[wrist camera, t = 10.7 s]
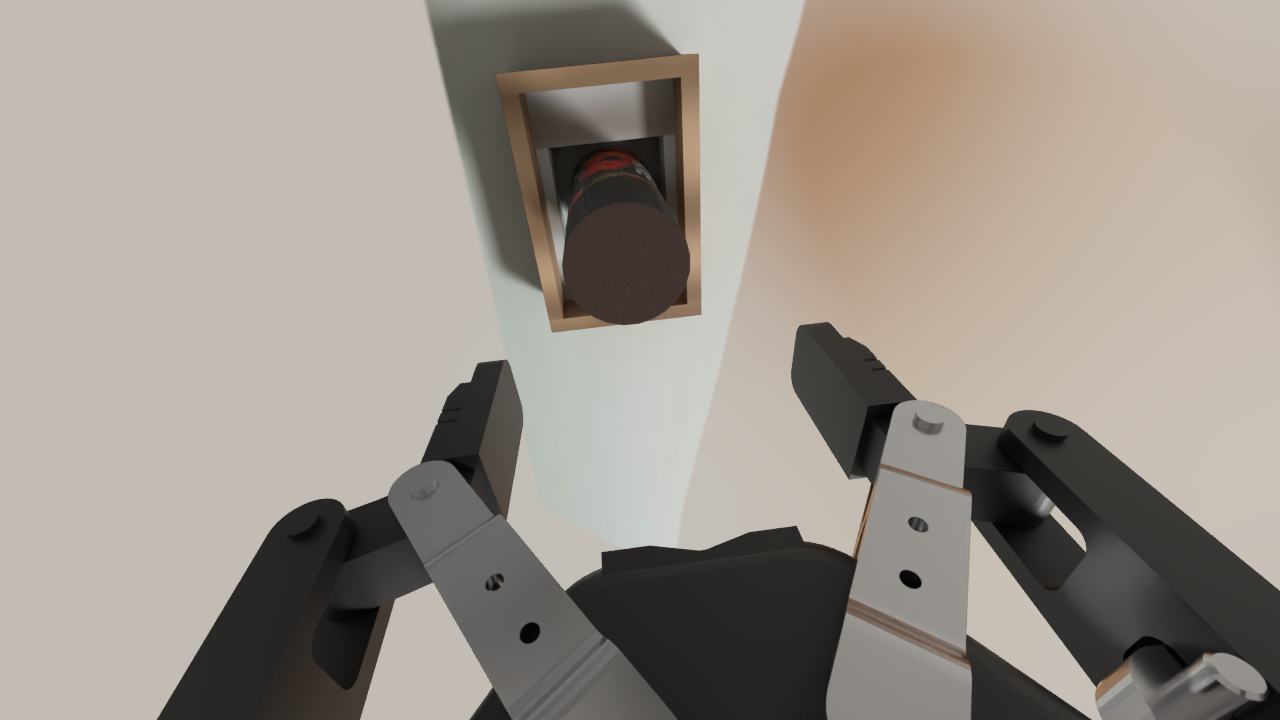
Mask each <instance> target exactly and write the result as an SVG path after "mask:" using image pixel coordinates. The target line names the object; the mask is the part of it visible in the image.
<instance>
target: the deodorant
mask: <svg viewBox="0 0 1280 720" xmlns="http://www.w3.org/2000/svg"><path fill="white" fill-rule="evenodd" d="M562 269H563V276H564V282H565V284H566V287H567V289H568V291H569V293H570V296H571V297H572V298H573V299H574V301H575V302H576V303H577V304H578V305H579V307H580V308H581V309H583V310H584V311H585V312H587V313H588V314H590V315H591V316H592V317H594V318H597V319H599V320H602V321H604V322H607V323H612V324H619V325H629V324H639V323H642V322H645V321H648V320H651V319H654V318H655V317H657V316H659V315H660V314H662V313H663V312H665V311H667V310H668V309H669V308H670V307H671V306H672V305H673V304H674V303H675V302H676V301H677V300H678V298H679V296H680V295H681V293H682V291H683V290H684V288H685V286H686V283H687V280H688V276H689V273H690V252H689V248H688V245H687V241H686V238H685V237H684V235H683V233H682V231H681V229H680V228H679V226H678V224H677V222H676V221H675V219H674V217H673V215H672V213H671V212H670V210H669V208H668V206H667V204H666V203H665V201H664V199H663V197H662V195H661V194H660V192H659V190H658V188H657V187H656V185H655V183H654V181H653V179H652V178H651V176H650V174H649V172H648V171H647V169H646V167H645V166H644V164H643V162H642V161H641V160H640V159H639V158H638V157H637V156H636V155H635V154H633V153H631V152H629V151H627V150H625V149H622V148H617V147H603V148H600V149H598V150H595V151H592V152H591V153H590V154H588V155H587V156H586V157H584V158H583V159H582V161H581V162H580V163H579V165H578V166H577V167H576V170H575V172H574V175H573V177H572V184H571V193H570V201H569V210H568V218H567V227H566V235H565V244H564V252H563V261H562Z"/></svg>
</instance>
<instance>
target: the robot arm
mask: <svg viewBox="0 0 1280 720" xmlns="http://www.w3.org/2000/svg"><path fill="white" fill-rule="evenodd" d="M791 378H792V384H793V388H794V390H795V392H796V394H797V396H798V398H799V399H800V401H801V402H802V404H803V406H804V407H805V409H806V411H807V412H808V414H809V415H810V417H811V419H812V420H813V422H814V424H815V425H816V427H817V428H818V430H819V432H820V433H821V435H822V437H823V438H824V440H825V441H826V443H827V445H828V446H829V448H830V449H831V451H832V453H833V454H834V456H835V458H836V459H837V461H838V463H839V464H840V466H841V467H842V469H843V471H844V472H845V474H846V475H847V477H848V479H849V480H850V479H858V478H865V477H867V478H868V479H869V481H870V482H871V486H870V489H869V493H868V497H867V500H866V504H865V508H864V512H863V516H862V520H861V524H860V528H859V532H858V535H857V539H856V543H855V547H854V551H853V555H852V557H851V556H849V555H847V554H845V553H843V552H841V551H838V550H836V549H834V548H830V547H827V546H824V545H821V544H816V543H811V542H805V541H803V539H802V537H801V535H800V533H799V530H798V528H797V526H792V527H785V528H777V529H770V530H763V531H756V532H749V533H746V534H744V535H741V536H739V537H736V538H734V539H731V540H729V541H726V542H724V543H721V544H719V545H716V546H714V547H712V548H709V549H706V550H702V551H697V550H686V549H677V548H667V547H658V546H644V547H637V548H629V549H622V550H615V551H608V552H602V568H601V569H599V570H596V571H594V572H592V573H590V574H588V575H586V576H584V577H583V578H581V579H580V580H578V581H577V582H576V583H574V584H573V585H572V586H571V587H570V588H568V589H567V590H566V591H564V590H563V588H562V587H561V586H560V585H559V584H558V583H557V581H556V580H555V579H554V578H553V576H552V575H551V574H550V573H549V572H548V570H547V569H546V568H545V567H544V566H543V564H542V563H541V562H540V561H539V559H538V558H537V557H536V556H535V555H534V553H533V552H532V551H531V550H530V549H529V547H528V546H527V545H526V544H525V543H524V541H523V540H522V539H521V538H520V536H519V535H518V534H517V533H516V532H515V530H514V529H513V528H512V527H511V526H510V524H509V523H508V522H507V521H506V519H507V515H508V509H509V503H510V497H511V491H512V485H513V480H514V474H515V468H516V462H517V456H518V450H519V445H520V439H521V433H522V427H523V411H522V405H521V402H520V398H519V395H518V391H517V388H516V384H515V381H514V378H513V374H512V371H511V367H510V365H509V362H508V361H507V360H499V361H490V362H482V363H478V364H477V366H476V369H475V372H474V374H473V377H472V380H471V382H469V383H461V384H459V385H458V387H457V388H455V390H454V391H453V392H452V393H451V394H450V395H449V396H448V397H447V400H446V402H445V404H444V407H443V409H442V413H441V415H440V417H439V419H438V425H436V427H435V429H434V432H433V434H432V436H431V439H430V442H429V444H428V446H427V449H426V451H425V454H424V456H423V459H422V461H421V463H420V464H419V465H417V466H415V467H413V468H411V469H409V470H408V471H406V472H405V473H403V474H402V475H401V476H400V477H399V478H398V479H397V480H396V481H395V482H394V484H393V485H392V487H391V488H390V491H389V494H388V496H386V497H384V498H381V499H379V500H376V501H374V502H371V503H368V504H365V505H363V506H360V507H357V508H355V509H352V510H349V511H347V510H346V509H345V508H344V506H343V505H342V504H341V502H339V501H337V500H334V499H319V500H315V501H312V502H309V503H306V504H304V505H302V506H300V507H298V508H296V509H294V510H293V511H291V512H290V513H288V514H287V515H285V517H283V518H282V519H281V520H280V521H278V522H277V523H276V525H275V526H274V527H273V528H272V529H271V530H270V532H269V533H268V535H267V537H266V538H265V540H264V542H263V543H262V545H261V547H260V548H259V550H258V552H257V554H256V555H255V557H254V558H253V560H252V562H251V563H250V565H249V567H248V568H247V570H246V572H245V573H244V575H243V577H242V579H241V580H240V582H239V583H238V585H237V587H236V588H235V590H234V592H233V593H232V595H231V597H230V598H229V600H228V602H227V604H226V605H225V607H224V609H223V610H222V612H221V614H220V615H219V617H218V618H217V620H216V622H215V623H214V625H213V627H212V629H211V630H210V632H209V634H208V635H207V637H206V639H205V640H204V642H203V644H202V645H201V647H200V649H199V650H198V652H197V654H196V655H195V657H194V659H193V660H192V662H191V664H190V665H189V667H188V669H187V670H186V672H185V674H184V675H183V677H182V679H181V680H180V682H179V684H178V685H177V687H176V689H175V690H174V692H173V694H172V695H171V697H170V699H169V700H168V702H167V704H166V705H165V707H164V709H163V710H162V712H161V714H160V716H159V717H158V719H157V720H360V717H361V714H362V711H363V707H364V704H365V701H366V697H367V694H368V690H369V687H370V683H371V680H372V677H373V673H374V670H375V666H376V663H377V659H378V656H379V653H380V649H381V646H382V642H383V639H384V635H385V632H386V629H387V625H388V621H389V618H390V615H391V611H392V608H393V604H394V601H395V599H396V598H399V597H401V596H403V595H405V594H408V593H410V592H412V591H415V590H417V589H419V588H421V587H423V586H426V585H428V584H430V583H434V584H435V586H436V588H437V589H438V591H439V593H440V595H441V597H442V598H443V600H444V602H445V604H446V605H447V607H448V609H449V611H450V612H451V614H452V616H453V617H454V619H455V621H456V623H457V624H458V626H459V628H460V630H461V632H462V633H463V635H464V637H465V639H466V640H467V642H468V644H469V646H470V647H471V649H472V651H473V653H474V654H475V656H476V658H477V659H478V661H479V663H480V665H481V666H482V668H483V670H484V672H485V673H486V675H487V677H488V679H489V680H490V682H491V684H492V686H493V688H492V689H491V690H490V692H489V693H488V695H487V696H486V698H485V699H484V700H483V702H482V703H481V705H480V706H479V707H478V709H477V710H476V711H475V713H474V714H473V716H472V717H471V718H470V720H1091V719H1090V718H1088V717H1087V716H1085V715H1084V714H1083V713H1081V712H1080V711H1078V710H1077V709H1075V708H1074V707H1072V706H1071V705H1069V704H1068V703H1066V702H1065V701H1064V700H1062V699H1061V698H1059V697H1058V696H1056V695H1055V694H1053V693H1052V692H1050V691H1049V690H1047V689H1046V688H1044V687H1043V686H1042V685H1040V684H1039V683H1037V682H1036V681H1034V680H1033V679H1031V678H1030V677H1028V676H1027V675H1025V674H1024V673H1023V672H1021V671H1020V670H1018V669H1017V668H1015V667H1013V666H1012V665H1011V664H1009V663H1008V662H1006V661H1005V660H1004V659H1002V658H1001V657H999V656H998V655H996V654H995V653H993V652H992V651H990V650H989V649H988V648H986V647H985V646H983V645H982V644H980V643H979V642H977V641H976V640H974V639H973V638H971V637H970V636H969V635H967V634H966V626H967V603H968V579H969V554H970V553H969V552H970V529H971V520H972V522H973V523H974V525H975V526H976V527H977V529H978V530H979V531H980V533H981V534H982V535H983V537H984V538H985V539H986V540H987V542H988V543H989V544H990V546H991V547H992V549H993V550H994V551H995V552H996V554H997V555H998V556H999V558H1000V559H1001V561H1002V562H1003V563H1004V565H1005V566H1006V567H1007V569H1008V570H1009V571H1010V573H1011V574H1012V575H1013V577H1014V578H1015V579H1016V581H1017V582H1018V583H1019V584H1020V586H1021V587H1022V589H1023V590H1024V591H1025V593H1026V594H1027V595H1028V597H1029V598H1030V599H1031V601H1032V602H1033V603H1034V605H1035V606H1036V607H1037V609H1038V610H1039V611H1040V613H1041V614H1042V615H1043V617H1044V618H1045V619H1046V620H1047V622H1048V623H1049V625H1050V626H1051V627H1052V629H1053V630H1054V631H1055V633H1056V634H1057V635H1058V637H1059V638H1060V639H1061V641H1062V642H1063V643H1064V645H1065V646H1066V647H1067V649H1068V650H1069V651H1070V653H1071V654H1072V655H1073V657H1074V658H1075V660H1076V661H1077V662H1078V663H1079V665H1080V666H1081V668H1082V669H1083V670H1084V671H1085V673H1086V674H1087V676H1088V677H1089V678H1090V679H1091V681H1092V682H1093V684H1094V685H1095V686H1096V693H1095V698H1096V705H1097V708H1098V711H1099V713H1100V716H1101V718H1102V719H1103V720H1280V591H1279V590H1278V589H1277V588H1276V587H1274V586H1273V585H1272V584H1270V582H1268V581H1267V580H1266V579H1265V578H1263V577H1262V576H1261V575H1260V574H1258V573H1257V572H1256V571H1255V570H1254V569H1252V568H1251V567H1250V566H1249V565H1247V564H1246V563H1245V562H1244V561H1243V560H1241V559H1240V558H1239V557H1238V556H1236V555H1235V554H1234V553H1233V552H1232V551H1230V550H1229V549H1228V548H1227V547H1226V546H1224V545H1223V544H1222V543H1221V542H1219V541H1218V540H1217V539H1216V538H1215V537H1213V536H1212V535H1211V534H1210V533H1208V532H1207V531H1206V530H1205V529H1204V528H1202V527H1201V526H1200V525H1199V524H1197V523H1196V522H1195V521H1194V520H1192V519H1191V518H1190V517H1189V516H1188V515H1186V514H1185V513H1184V512H1183V511H1181V510H1180V509H1179V508H1178V507H1176V506H1175V505H1174V504H1173V503H1172V502H1170V501H1169V500H1168V499H1167V498H1165V497H1164V496H1163V495H1162V494H1161V493H1160V492H1158V491H1157V490H1156V489H1155V488H1153V487H1152V486H1151V485H1150V484H1149V483H1147V482H1146V481H1145V480H1144V479H1142V478H1141V477H1140V476H1139V475H1137V474H1136V473H1135V472H1134V471H1132V470H1131V469H1130V468H1129V467H1128V466H1126V465H1125V464H1124V463H1123V462H1122V461H1120V460H1119V459H1118V458H1117V457H1116V456H1114V455H1113V454H1112V453H1111V452H1109V451H1108V450H1107V449H1106V448H1105V447H1103V446H1102V445H1101V444H1100V443H1098V442H1097V441H1096V440H1095V439H1094V438H1092V437H1091V436H1090V435H1089V434H1088V433H1086V432H1085V431H1084V430H1082V429H1081V428H1080V427H1078V426H1077V425H1075V424H1074V423H1072V422H1070V421H1068V420H1066V419H1064V418H1061V417H1059V416H1056V415H1053V414H1050V413H1046V412H1042V411H1034V410H1023V411H1018V412H1015V413H1013V414H1011V415H1010V416H1009V418H1008V419H1007V421H1006V423H1005V425H1004V427H1003V428H999V427H988V426H978V425H968V424H965V423H964V422H963V420H962V419H961V418H960V417H959V416H958V415H957V414H956V413H954V412H953V411H951V410H950V409H948V408H946V407H944V406H941V405H939V404H936V403H933V402H928V401H921V400H917V399H916V398H915V397H914V396H913V395H912V394H911V393H910V392H909V391H908V390H907V389H906V388H905V387H904V386H903V385H902V384H901V383H900V382H899V381H898V380H897V378H896V377H895V376H894V375H893V374H892V373H891V372H890V371H889V370H886V367H885V366H884V365H883V364H882V363H881V362H880V361H879V360H877V357H876V356H874V354H873V353H872V352H871V351H870V350H869V349H868V348H867V347H866V346H864V345H862V344H860V343H859V342H857V341H855V340H853V339H851V338H849V337H848V338H843V337H842V336H841V335H840V334H839V333H838V332H837V331H836V329H835V328H834V327H833V326H832V325H831V324H830V323H828V322H824V323H815V324H807V325H800V326H799V328H798V329H797V333H796V340H795V348H794V355H793V363H792V370H791ZM1055 505H1056V506H1057V507H1058V508H1059V509H1060V510H1061V512H1062V513H1063V514H1065V516H1066V517H1067V518H1068V519H1069V520H1070V521H1071V522H1072V523H1073V524H1074V525H1075V526H1076V527H1077V528H1078V529H1079V531H1080V532H1081V533H1082V536H1083V537H1084V540H1085V542H1086V548H1087V550H1086V552H1085V551H1084V550H1083V549H1082V548H1081V547H1080V546H1079V545H1078V544H1077V543H1076V541H1075V540H1074V539H1073V538H1072V537H1071V536H1070V535H1069V534H1068V533H1067V532H1066V531H1065V530H1064V528H1063V527H1062V526H1061V525H1060V524H1059V523H1058V522H1057V521H1056V520H1055V519H1054V518H1053V517H1052V516H1051V515H1050V512H1051V511H1052V509H1053V508H1054V506H1055Z"/></svg>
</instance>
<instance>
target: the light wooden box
mask: <svg viewBox="0 0 1280 720" xmlns="http://www.w3.org/2000/svg"><path fill="white" fill-rule="evenodd" d="M495 76H496V80H497V85H498V89H499V94H500V98H501V103H502V107H503V112H504V117H505V121H506V126H507V130H508V135H509V139H510V144H511V148H512V153H513V157H514V162H515V167H516V171H517V176H518V180H519V185H520V189H521V194H522V198H523V203H524V207H525V212H526V216H527V221H528V226H529V230H530V235H531V239H532V244H533V248H534V253H535V257H536V262H537V266H538V271H539V276H540V280H541V285H542V289H543V294H544V298H545V303H546V307H547V312H548V316H549V321H550V326H551V330H552V333H553V332H561V331H569V330H578V329H586V328H594V327H603V326H611V325H619V324H612V323H607V322H604V321H602V320H599V319H597V318H594V317H592V316H591V315H590V314H588V313H587V312H585V311H584V310H583V309H581V308H580V307H579V305H578V304H577V303H576V302H575V301H574V299H573V298H572V297H571V296H570V293H569V291H568V289H567V287H566V284H565V282H564V276H563V269H562V261H563V252H564V244H565V235H566V229H565V224H564V218H563V212H562V206H561V201H560V195H559V189H558V184H557V178H556V172H555V167H554V161H553V155H552V150H551V148H553V147H563V146H572V145H582V144H591V143H600V142H610V141H619V140H628V139H638V138H647V137H657V136H659V150H660V169H661V187H662V197H663V199H664V201H665V203H666V204H667V206H668V208H669V210H670V212H671V213H672V215H673V217H674V219H675V221H676V222H677V224H678V226H679V228H680V229H681V231H682V233H683V235H684V237H685V238H686V241H687V245H688V248H689V252H690V273H689V276H688V280H687V283H686V286H685V288H684V290H683V291H682V293H681V295H680V296H679V298H678V300H677V301H676V302H675V303H674V304H673V305H672V306H671V307H670V308H669V309H668V310H667V311H665V312H663V313H662V314H660V315H659V316H657V317H655V318H654V319H651V320H648V321H653V320H661V319H669V318H678V317H686V316H694V315H701V231H700V130H699V54H685V55H673V56H664V57H654V58H644V59H634V60H624V61H614V62H604V63H594V64H584V65H574V66H564V67H554V68H544V69H534V70H524V71H514V72H506V73H499V74H495Z"/></svg>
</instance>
